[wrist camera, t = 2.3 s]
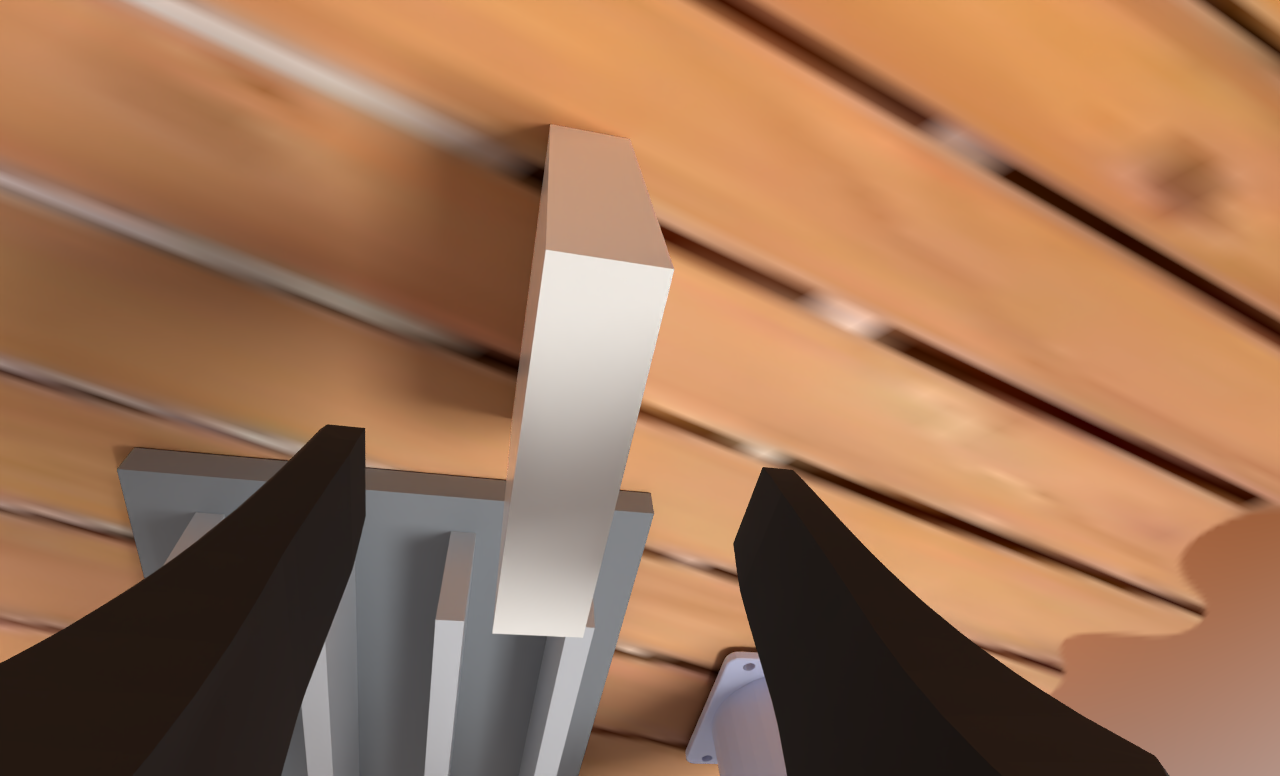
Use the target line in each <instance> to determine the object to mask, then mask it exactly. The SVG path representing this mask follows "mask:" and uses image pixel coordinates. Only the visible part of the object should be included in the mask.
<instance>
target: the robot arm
mask: <svg viewBox="0 0 1280 776" xmlns="http://www.w3.org/2000/svg"><path fill="white" fill-rule="evenodd" d="M365 517H366V481H365V428H358V427H348V426H337V425H326V426H324V427H323V428H321V429H320V430H319V431H318V432H317V433H316V434H315V435H314V436H313V437H312V438H311V439H310V440H309V441H308V442H307V443H306V444H305V445H304V446H303V447H302V448H301V449H300V450H299V451H298V452H297V453H296V454H295V455H294V456H293V457H292V458H291V459H290V460H289V461H288V462H287V463H286V464H285V465H284V466H283V467H282V468H281V469H280V470H279V471H278V472H277V473H276V474H275V475H274V476H273V477H271V478H270V479H269V480H268V481H267V482H266V483H265V484H264V485H263V486H261V487H260V488H259V489H258V490H257V491H256V492H255V493H254V494H253V495H251V496H250V497H249V498H248V499H247V500H246V501H245V502H244V503H243V504H241V505H240V506H239V507H238V508H237V509H236V510H234V511H233V512H232V513H231V514H229V515H228V516H227V517H226V518H224V519H223V520H222V521H221V522H220V523H218V524H217V525H216V526H215V527H213V528H212V529H211V530H210V531H208V532H207V533H206V534H205V535H204V536H202V537H201V538H200V539H199V540H197V541H196V542H195V543H193V544H192V545H191V546H190V547H188V548H187V549H185V550H184V551H183V552H181V553H180V554H179V555H177V556H176V557H175V558H173V559H172V560H171V561H169V562H168V563H166V564H165V565H164V566H162V567H161V568H159V569H158V570H156V571H155V572H154V573H152V574H151V575H149V576H148V577H146V578H145V579H143V580H142V581H141V582H139V583H138V584H136V585H135V586H133V587H131V588H130V589H128V590H127V591H125V592H124V593H122V594H120V595H119V596H117V597H116V598H114V599H113V600H111V601H109V602H108V603H106V604H105V605H103V606H101V607H100V608H98V609H96V610H95V611H93V612H91V613H90V614H88V615H86V616H85V617H83V618H81V619H80V620H78V621H77V622H75V623H73V624H72V625H70V626H68V627H67V628H65V629H63V630H61V631H60V632H58V633H56V634H54V635H52V636H51V637H49V638H47V639H45V640H43V641H41V642H40V643H38V644H36V645H34V646H32V647H30V648H29V649H27V650H25V651H23V652H21V653H19V654H17V655H15V656H14V657H12V658H10V659H8V660H6V661H4V662H2V663H0V776H281V775H282V771H283V767H284V764H285V760H286V756H287V753H288V749H289V746H290V742H291V738H292V735H293V731H294V728H295V724H296V720H297V717H298V714H299V711H300V708H301V705H302V702H303V699H304V696H305V693H306V690H307V687H308V684H309V682H310V679H311V677H312V674H313V671H314V669H315V666H316V664H317V661H318V658H319V656H320V653H321V651H322V648H323V646H324V643H325V640H326V638H327V635H328V633H329V630H330V627H331V625H332V622H333V620H334V617H335V614H336V612H337V609H338V607H339V604H340V601H341V599H342V596H343V594H344V591H345V588H346V586H347V583H348V580H349V578H350V575H351V572H352V570H353V566H354V562H355V558H356V554H357V550H358V546H359V542H360V538H361V534H362V530H363V526H364V522H365ZM733 545H734V552H735V560H736V567H737V574H738V580H739V586H740V592H741V596H742V600H743V604H744V607H745V611H746V614H747V618H748V621H749V625H750V628H751V632H752V635H753V639H754V642H755V646H756V649H757V652H733V653H730V654H729V655H727V656H726V658H725V659H724V662H723V664H722V666H721V669H720V671H719V673H718V676H717V678H716V680H715V683H714V685H713V687H712V690H711V692H710V694H709V697H708V699H707V701H706V704H705V706H704V709H703V711H702V713H701V716H700V718H699V720H698V723H697V725H696V727H695V730H694V732H693V734H692V737H691V739H690V741H689V744H688V746H687V748H686V751H685V754H686V760H687V761H688V762H690V763H695V764H718V768H719V773H720V776H1169V775H1168V773H1167V772H1166V770H1165V769H1164V768H1163V766H1162V765H1161V763H1160V762H1159V760H1158V759H1157V758H1156V757H1155V756H1154V755H1152V754H1151V753H1149V752H1147V751H1145V750H1143V749H1141V748H1140V747H1138V746H1136V745H1134V744H1133V743H1131V742H1129V741H1127V740H1125V739H1123V738H1122V737H1120V736H1118V735H1116V734H1114V733H1113V732H1111V731H1109V730H1107V729H1106V728H1103V727H1102V726H1100V725H1098V724H1097V723H1095V722H1093V721H1091V720H1089V719H1087V718H1086V717H1084V716H1082V715H1081V714H1079V713H1077V712H1076V711H1074V710H1073V709H1071V708H1069V707H1068V706H1066V705H1065V704H1063V703H1061V702H1060V701H1058V700H1057V699H1055V698H1053V697H1052V696H1050V695H1049V694H1047V693H1045V692H1044V691H1042V690H1041V689H1039V688H1037V687H1036V686H1034V685H1033V684H1031V683H1030V682H1028V681H1027V680H1025V679H1024V678H1022V677H1021V676H1019V675H1018V674H1016V673H1015V672H1013V671H1012V670H1011V669H1009V668H1008V667H1006V666H1005V665H1004V664H1002V663H1001V662H1000V661H998V660H997V659H995V658H994V657H993V656H991V655H990V654H988V653H987V652H986V651H984V650H983V649H981V648H980V647H979V646H977V645H976V644H975V643H973V642H972V641H971V640H969V639H968V638H967V637H966V636H964V635H963V634H962V633H960V632H959V631H958V630H957V629H955V628H954V627H953V626H952V625H951V624H949V623H948V622H947V621H946V620H944V619H943V618H942V617H941V616H940V615H938V614H937V613H936V612H935V611H934V610H932V609H931V608H930V607H929V606H927V605H926V604H925V603H924V602H923V601H922V600H921V599H920V598H918V597H917V596H916V595H915V594H914V593H913V592H912V591H911V590H909V589H908V588H907V587H906V586H905V585H904V584H903V583H902V582H901V581H900V580H899V579H898V578H897V577H896V576H895V575H894V574H893V573H891V572H890V571H889V570H888V569H887V568H886V567H885V566H884V565H883V564H882V563H881V562H880V561H879V560H878V559H877V558H876V557H875V556H874V555H873V554H872V553H871V552H870V551H869V550H868V549H867V548H866V547H865V546H864V545H863V544H862V543H861V542H860V541H859V540H858V539H857V537H856V536H855V535H854V534H853V533H852V532H851V531H850V530H849V529H848V528H847V527H846V526H845V525H844V524H843V523H842V522H841V521H840V519H839V518H838V517H837V516H836V515H835V514H834V513H833V512H832V511H831V510H830V509H829V508H828V506H827V505H826V504H825V503H824V502H823V501H822V500H821V499H820V498H819V497H818V496H817V495H816V493H815V492H814V491H813V490H812V489H811V488H810V487H809V486H808V485H807V484H806V483H805V482H804V481H803V480H802V479H801V478H800V477H799V476H798V475H797V474H796V473H795V472H794V471H793V470H787V469H777V468H767V467H763V468H762V470H761V473H760V476H759V478H758V481H757V483H756V486H755V489H754V491H753V494H752V496H751V499H750V502H749V504H748V507H747V509H746V512H745V515H744V517H743V520H742V522H741V525H740V528H739V530H738V533H737V535H736V538H735V541H734V543H733Z"/></svg>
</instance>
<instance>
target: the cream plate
mask: <svg viewBox="0 0 1280 776" xmlns="http://www.w3.org/2000/svg"><path fill="white" fill-rule="evenodd" d="M673 272H674V267H673V264H672V261H671V258H670V255H669V252H668V249H667V246H666V244H665V241H664V238H663V235H662V232H661V229H660V226H659V223H658V220H657V217H656V214H655V211H654V208H653V205H652V202H651V199H650V196H649V193H648V190H647V187H646V185H645V182H644V179H643V176H642V173H641V170H640V167H639V164H638V161H637V158H636V155H635V152H634V149H633V146H632V143H631V140H630V139H628V138H622V137H617V136H612V135H606V134H601V133H596V132H590V131H585V130H580V129H574V128H569V127H564V126H558V125H553V124H550V130H549V138H548V145H547V153H546V161H545V168H544V176H543V184H542V192H541V199H540V207H539V215H538V222H537V230H536V238H535V245H534V253H533V261H532V269H531V276H530V284H529V292H528V299H527V307H526V315H525V322H524V330H523V338H522V345H521V353H520V361H519V369H518V376H517V384H516V392H515V399H514V407H513V415H512V424H511V435H510V446H509V457H508V468H507V478H506V489H505V500H504V511H503V522H502V533H501V544H500V555H499V566H498V576H497V587H496V598H495V609H494V620H493V631H492V633H493V634H514V635H536V636H557V637H579V638H583V636H584V632H585V628H586V624H587V620H588V616H589V611H590V607H591V603H592V599H593V595H594V591H595V587H596V583H597V579H598V575H599V571H600V567H601V563H602V559H603V555H604V551H605V547H606V543H607V539H608V535H609V531H610V527H611V523H612V519H613V515H614V511H615V506H616V502H617V498H618V494H619V490H620V486H621V482H622V478H623V474H624V470H625V466H626V462H627V458H628V454H629V450H630V446H631V442H632V438H633V434H634V430H635V426H636V422H637V418H638V414H639V410H640V405H641V401H642V397H643V393H644V389H645V385H646V381H647V377H648V373H649V369H650V365H651V361H652V357H653V353H654V349H655V345H656V341H657V337H658V333H659V329H660V325H661V321H662V317H663V313H664V309H665V305H666V300H667V296H668V292H669V288H670V284H671V280H672V276H673Z"/></svg>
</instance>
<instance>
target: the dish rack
mask: <svg viewBox="0 0 1280 776" xmlns="http://www.w3.org/2000/svg"><path fill="white" fill-rule="evenodd" d="M287 462H288V461H280V460H269V459H258V458H246V457H235V456H224V455H213V454H201V453H190V452H179V451H167V450H156V449H145V448H133V450H132V451H131V452H130V453H129V455H128V456H127V457H126V458H125V460H124V461H123V462H122V463H121V465H120V466H119V467H118V468H117V472H118V476H119V480H120V484H121V487H122V491H123V495H124V499H125V503H126V507H127V511H128V515H129V519H130V523H131V527H132V531H133V535H134V539H135V543H136V547H137V551H138V554H139V558H140V562H141V566H142V570H143V574H144V578H146V577H148V576H149V575H151V574H152V573H154V572H155V571H156V570H158V569H159V568H161V567H162V566H164V565H165V564H166V563H168V562H169V561H171V560H172V559H173V558H175V557H176V556H177V555H179V554H180V553H181V552H183V551H184V550H185V549H187V548H188V547H190V546H191V545H192V544H193V543H195V542H196V541H197V540H199V539H200V538H201V537H202V536H204V535H205V534H206V533H207V532H208V531H210V530H211V529H212V528H213V527H215V526H216V525H217V524H218V523H220V522H221V521H222V520H223V519H224V518H226V517H227V516H228V515H229V514H231V513H232V512H233V511H234V510H236V509H237V508H238V507H239V506H240V505H241V504H243V503H244V502H245V501H246V500H247V499H248V498H249V497H250V496H251V495H253V494H254V493H255V492H256V491H257V490H258V489H259V488H260V487H261V486H263V485H264V484H265V483H266V482H267V481H268V480H269V479H270V478H271V477H273V476H274V475H275V474H276V473H277V472H278V471H279V470H280V469H281V468H282V467H283V466H284V465H285V464H286V463H287ZM365 481H366V517H365V522H364V526H363V530H362V534H361V538H360V542H359V546H358V550H357V554H356V558H355V562H354V566H353V570H352V572H351V575H350V578H349V580H348V583H347V586H346V588H345V591H344V594H343V596H342V599H341V601H340V604H339V607H338V609H337V612H336V614H335V617H334V620H333V622H332V625H331V627H330V630H329V633H328V635H327V638H326V640H325V643H324V646H323V648H322V651H321V653H320V656H319V658H318V661H317V664H316V666H315V669H314V671H313V674H312V677H311V679H310V682H309V684H308V687H307V690H306V693H305V696H304V699H303V702H302V705H301V708H300V711H299V714H298V717H297V720H296V724H295V728H294V731H293V735H292V738H291V742H290V746H289V749H288V753H287V756H286V760H285V764H284V767H283V771H282V775H281V776H578V775H579V771H580V768H581V764H582V761H583V757H584V754H585V750H586V747H587V744H588V740H589V737H590V733H591V730H592V726H593V723H594V719H595V716H596V712H597V709H598V705H599V702H600V699H601V695H602V692H603V688H604V685H605V681H606V678H607V674H608V671H609V667H610V664H611V661H612V657H613V654H614V650H615V647H616V643H617V640H618V636H619V633H620V629H621V626H622V623H623V619H624V616H625V612H626V609H627V605H628V602H629V598H630V595H631V591H632V588H633V584H634V581H635V578H636V574H637V571H638V567H639V564H640V560H641V557H642V553H643V550H644V546H645V543H646V540H647V536H648V533H649V529H650V526H651V522H652V519H653V515H654V511H653V505H652V498H651V493H641V492H630V491H619V494H618V498H617V502H616V506H615V511H614V515H613V519H612V523H611V527H610V531H609V535H608V539H607V543H606V547H605V551H604V555H603V559H602V563H601V567H600V571H599V575H598V579H597V583H596V587H595V591H594V595H593V599H592V603H591V607H590V611H589V616H588V620H587V624H586V628H585V632H584V636H583V638H579V637H557V636H536V635H514V634H493V633H492V631H493V620H494V609H495V598H496V587H497V576H498V566H499V555H500V544H501V533H502V522H503V511H504V500H505V489H506V480H494V479H483V478H472V477H461V476H449V475H438V474H427V473H416V472H404V471H393V470H382V469H370V468H365Z"/></svg>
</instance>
